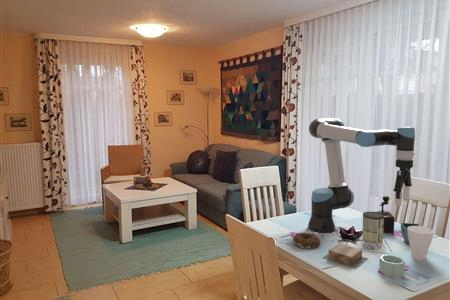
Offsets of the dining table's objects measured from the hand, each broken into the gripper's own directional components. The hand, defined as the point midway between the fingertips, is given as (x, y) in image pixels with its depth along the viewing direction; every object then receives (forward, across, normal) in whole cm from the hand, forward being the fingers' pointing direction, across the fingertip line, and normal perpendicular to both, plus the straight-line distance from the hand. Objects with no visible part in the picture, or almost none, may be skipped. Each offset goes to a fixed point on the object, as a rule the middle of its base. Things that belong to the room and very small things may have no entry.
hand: (402, 202), depth 165 cm
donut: (+24, -25, +37) cm, 51 cm away
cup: (+24, -5, -10) cm, 26 cm away
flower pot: (+24, +12, -2) cm, 27 cm away
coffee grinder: (+24, +24, +16) cm, 38 cm away
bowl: (+24, -29, -5) cm, 38 cm away
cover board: (+23, -29, +16) cm, 40 cm away
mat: (+24, -29, +16) cm, 41 cm away
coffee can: (+24, +3, +14) cm, 28 cm away
